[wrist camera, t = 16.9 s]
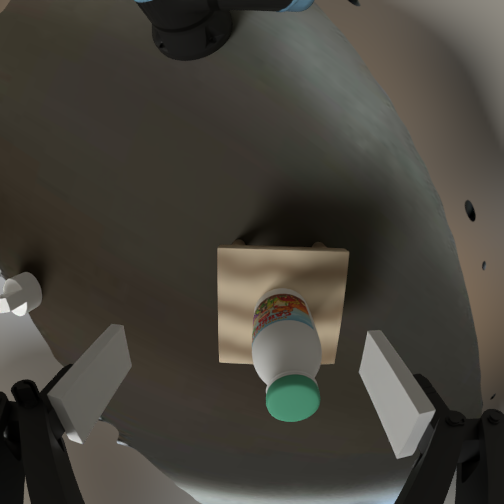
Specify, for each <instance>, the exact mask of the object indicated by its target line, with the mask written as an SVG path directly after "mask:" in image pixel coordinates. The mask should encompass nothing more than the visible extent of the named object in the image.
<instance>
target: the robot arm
mask: <svg viewBox="0 0 504 504" xmlns="http://www.w3.org/2000/svg"><path fill="white" fill-rule="evenodd" d="M134 1H135V2H136V3H137V4H138V6H139V7H140V8H141V10H142V11H143V12H144V14H145V15H146V16H147V18H148V19H149V20H150V22H151V23H152V37H153V41H154V43H155V45H156V46H157V48H158V49H159V50H160V51H161V52H162V53H163V54H164V55H165V56H167V57H169V58H172V59H175V60H182V61H188V60H196V59H200V58H203V57H205V56H208V55H210V54H212V53H213V52H215V51H216V50H218V49H219V48H220V47H221V46H222V45H223V44H224V43H225V42H226V41H227V39H228V38H229V36H230V34H231V30H232V20H231V15H230V12H229V10H257V11H276V12H284V11H291V12H300V11H304V10H306V9H308V8H309V7H310V6H311V5H312V4H313V2H314V0H134ZM131 367H132V365H131V360H130V356H129V351H128V347H127V342H126V337H125V332H124V326H123V325H116V324H111V325H110V326H109V327H108V328H107V329H106V330H105V331H104V332H103V333H102V335H101V336H100V337H99V338H98V339H97V340H96V341H95V342H94V343H93V344H92V345H91V346H90V347H89V348H88V349H87V351H86V352H85V353H84V354H83V355H82V356H81V357H80V358H79V359H78V360H77V361H76V363H75V364H74V365H73V364H69V365H67V366H65V367H64V368H62V369H61V370H60V371H59V372H58V373H57V376H55V377H54V378H53V380H51V381H50V382H49V383H48V384H47V385H46V387H45V388H44V389H43V390H42V391H41V392H40V393H39V391H38V388H37V386H36V384H35V382H33V381H31V380H21V381H18V382H17V383H15V384H14V385H13V387H12V388H11V392H12V394H13V396H14V398H15V400H16V402H13V401H9V400H8V398H7V396H6V394H5V393H3V392H0V504H23V500H24V482H25V477H26V482H27V487H28V492H29V497H30V501H31V504H85V503H84V500H83V498H82V495H81V493H80V490H79V487H78V484H77V482H76V479H75V476H74V473H73V470H72V467H71V463H70V460H69V457H68V453H67V451H66V447H65V443H64V440H63V438H62V435H63V433H64V432H66V434H67V435H68V438H69V439H70V440H72V441H75V442H78V443H81V444H84V442H85V440H86V439H87V437H88V435H89V434H90V432H91V430H92V428H93V427H94V425H95V424H96V422H97V421H98V419H99V417H100V416H101V414H102V412H103V411H104V409H105V408H106V406H107V404H108V403H109V401H110V400H111V398H112V396H113V395H114V393H115V392H116V390H117V388H118V387H119V385H120V384H121V382H122V381H123V379H124V377H125V376H126V374H127V373H128V371H129V370H130V368H131ZM359 373H360V375H361V378H362V380H363V382H364V384H365V386H366V388H367V391H368V393H369V395H370V397H371V400H372V402H373V404H374V406H375V409H376V411H377V413H378V415H379V418H380V420H381V422H382V425H383V427H384V429H385V432H386V434H387V436H388V439H389V441H390V443H391V446H392V448H393V451H394V453H395V455H396V458H397V459H398V458H402V457H406V456H410V455H413V453H414V451H415V450H416V448H417V446H418V448H419V450H420V452H421V453H420V454H419V456H418V458H417V459H416V461H415V462H414V464H413V466H412V467H413V469H412V471H411V473H410V475H409V477H408V479H407V481H406V483H405V485H404V487H403V489H402V491H401V492H400V494H399V496H398V498H397V500H396V501H395V503H394V504H443V503H444V501H445V498H446V495H447V493H448V490H449V487H450V484H451V481H452V478H453V476H454V472H455V469H456V466H457V479H456V497H455V504H504V414H503V413H502V412H501V411H498V410H496V409H488V410H486V411H484V413H483V414H482V416H481V418H479V419H466V417H465V416H464V415H463V414H462V413H460V412H457V411H452V410H449V408H448V407H447V406H446V404H445V403H444V401H443V400H442V398H441V397H440V396H439V394H438V393H436V390H435V389H434V387H432V384H431V383H430V382H429V380H428V379H427V378H425V377H424V376H422V375H421V374H415V375H412V374H411V372H410V371H409V369H408V368H407V366H406V365H405V363H404V362H403V361H402V359H401V358H400V356H399V355H398V354H397V352H396V351H395V349H394V348H393V346H392V345H391V344H390V342H389V341H388V340H387V338H386V337H385V335H384V334H383V333H382V331H381V330H374V331H368V332H367V337H366V343H365V348H364V352H363V357H362V362H361V366H360V371H359Z"/></svg>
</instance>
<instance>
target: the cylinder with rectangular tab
mask: <svg viewBox="0 0 504 504" xmlns="http://www.w3.org/2000/svg"><path fill="white" fill-rule="evenodd" d="M3 291H4V294H2V295H0V313H5V312H10V311H12V312H13V313H14V314H16V315H18V316H23V315H24V314H26V313H28V312H30V311H31V310H33V309H34V308H36V307H38V306H39V305H40V303H41V301H42V291H41V287H40V285H39V282H38V281H37V279H36V278H35V277H34V276H33V275H32V274H31V273H29V272H23V273H21V274H19V275H16V276H14V277H12V278H10V279H8V280H6V282H5V283H4V287H3Z"/></svg>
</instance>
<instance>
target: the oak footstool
mask: <svg viewBox="0 0 504 504" xmlns="http://www.w3.org/2000/svg"><path fill="white" fill-rule="evenodd" d="M348 261H349V252H348V251H347V250H346V249H344V248H327V247H326V246H325V245H324V244H323V243H321V242H316V243H314V244H313V246H312V247H285V246H253V245H245V243H244V241H242V240H240V239H237V240H235V241H234V242H233V243H232V245H219V247H218V335H219V362H223V363H241V364H253V359H252V332H253V317H254V309H255V306H256V303H257V302H258V300H259V299H260V298H261V297H262V296H263V295H264V294H265V293H267V292H268V291H271V290H273V289H278V288H287V289H291V290H294V291H296V292H297V293H299V294H300V295H301V296H302V297H303V298H304V299H305V301H306V303H307V305H308V308H309V310H310V313H311V316H312V318H313V321H314V324H315V327H316V330H317V332H318V336H319V339H320V343H321V349H322V358H321V364H334V361H335V356H336V350H337V344H338V338H339V332H340V325H341V318H342V311H343V304H344V296H345V288H346V280H347V270H348Z"/></svg>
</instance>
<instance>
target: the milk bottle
mask: <svg viewBox="0 0 504 504" xmlns="http://www.w3.org/2000/svg"><path fill="white" fill-rule="evenodd" d="M321 358H322V349H321V343H320V339H319V336H318V332H317V330H316V327H315V324H314V321H313V318H312V316H311V313H310V310H309V308H308V305H307V303H306V301H305V299H304V298H303V297H302V296H301V295H300V294H299V293H297V292H296V291H294V290H291V289H287V288H278V289H273V290H271V291H268V292H267V293H265V294H264V295H263V296H262V297H261V298H260V299H259V300H258V302H257V303H256V306H255V309H254V317H253V332H252V359H253V364H254V367H255V369H256V371H257V373H258V375H259V376H260V378H261V379H262V380H263V381H264V382H265V383H266V384H267V388H266V405H267V408H268V411H269V412H270V414H271V415H272V416H273V417H275V418H277V419H279V420H282V421H287V422H294V421H300V420H303V419H306V418H308V417H309V416H311V415H312V414H313V413H314V412H315V411H316V410H317V409H318V407H319V404H320V392H319V389H318V385H317V382H316V380H315V379H314V378H315V376H316V374H317V372H318V370H319V367H320V364H321Z"/></svg>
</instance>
